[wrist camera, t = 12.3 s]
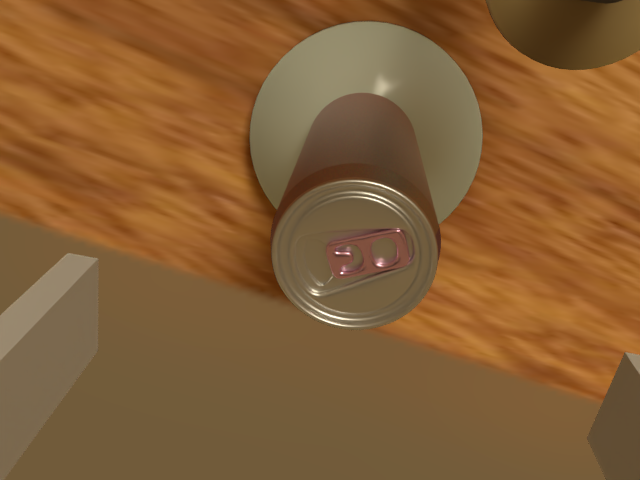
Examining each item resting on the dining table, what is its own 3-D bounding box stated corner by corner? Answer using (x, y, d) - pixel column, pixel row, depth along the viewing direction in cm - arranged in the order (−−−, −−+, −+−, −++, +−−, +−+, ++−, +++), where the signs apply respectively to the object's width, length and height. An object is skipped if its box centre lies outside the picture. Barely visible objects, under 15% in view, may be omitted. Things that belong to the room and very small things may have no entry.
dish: (242, 222, 38) (238, 229, 37) (267, 1, 32) (263, 2, 31) (448, 258, 38) (450, 267, 36) (506, 42, 32) (511, 45, 31)
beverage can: (424, 182, 34) (458, 319, 21) (323, 203, 35) (292, 348, 22) (403, 78, 32) (425, 154, 18) (296, 104, 33) (242, 195, 20)
